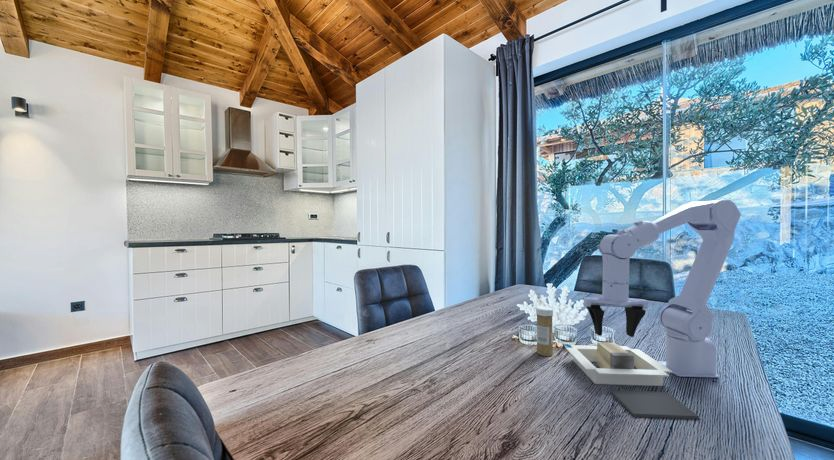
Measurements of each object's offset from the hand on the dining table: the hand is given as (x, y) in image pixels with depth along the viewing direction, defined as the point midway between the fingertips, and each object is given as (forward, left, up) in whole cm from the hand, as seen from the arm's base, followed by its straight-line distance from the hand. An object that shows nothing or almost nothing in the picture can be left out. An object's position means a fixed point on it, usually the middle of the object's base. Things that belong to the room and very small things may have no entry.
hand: (614, 335), depth 83 cm
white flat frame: (0, 0, -10) cm, 10 cm away
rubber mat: (0, +15, -10) cm, 18 cm away
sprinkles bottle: (+14, -11, -10) cm, 20 cm away
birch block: (0, 0, -10) cm, 10 cm away
